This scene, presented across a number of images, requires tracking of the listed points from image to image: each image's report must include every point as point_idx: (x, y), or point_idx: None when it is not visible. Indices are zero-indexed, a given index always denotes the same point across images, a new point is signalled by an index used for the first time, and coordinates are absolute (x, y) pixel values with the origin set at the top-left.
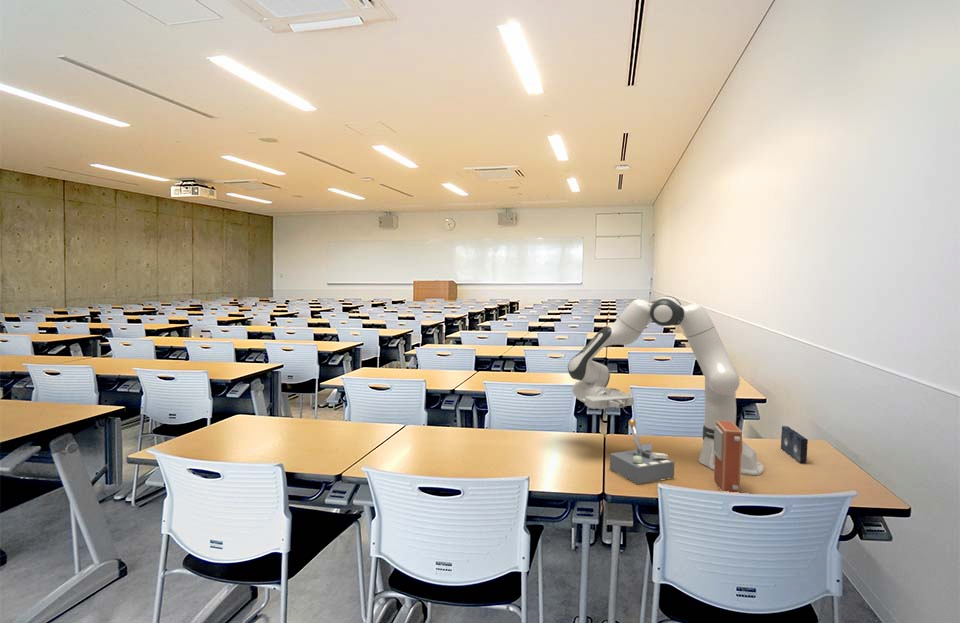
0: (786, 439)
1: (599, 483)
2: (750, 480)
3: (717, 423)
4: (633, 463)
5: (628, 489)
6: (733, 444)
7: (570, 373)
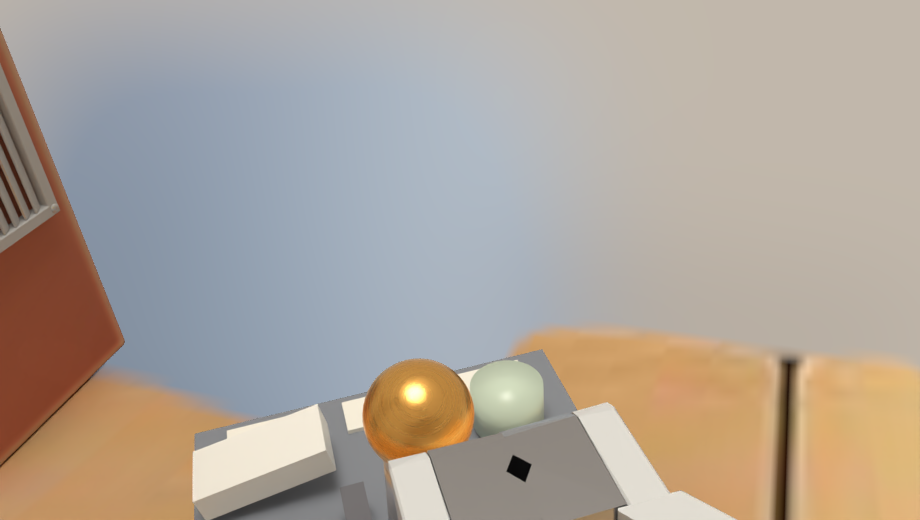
0: None
1: (815, 464)
2: None
3: None
4: (547, 414)
5: (625, 386)
6: None
7: None
